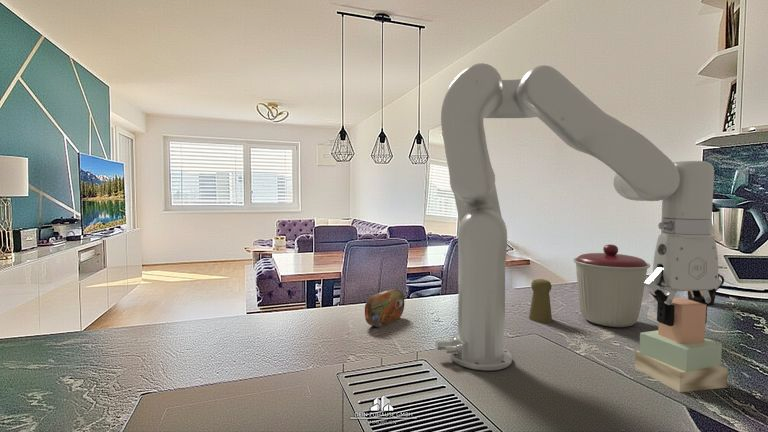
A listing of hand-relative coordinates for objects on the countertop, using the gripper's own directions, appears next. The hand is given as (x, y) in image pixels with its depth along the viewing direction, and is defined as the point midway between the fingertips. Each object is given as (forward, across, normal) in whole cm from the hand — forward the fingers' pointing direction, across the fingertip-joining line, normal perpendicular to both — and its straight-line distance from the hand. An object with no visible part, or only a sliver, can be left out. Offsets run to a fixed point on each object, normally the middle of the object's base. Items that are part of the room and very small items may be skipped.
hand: (681, 322), depth 77 cm
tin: (+11, -50, +41) cm, 66 cm away
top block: (+7, 0, 0) cm, 7 cm away
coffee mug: (+11, +54, +44) cm, 70 cm away
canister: (+11, +10, +32) cm, 35 cm away
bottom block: (+11, 0, 0) cm, 11 cm away
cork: (+11, -7, +37) cm, 39 cm away
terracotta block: (+3, 0, 0) cm, 3 cm away
